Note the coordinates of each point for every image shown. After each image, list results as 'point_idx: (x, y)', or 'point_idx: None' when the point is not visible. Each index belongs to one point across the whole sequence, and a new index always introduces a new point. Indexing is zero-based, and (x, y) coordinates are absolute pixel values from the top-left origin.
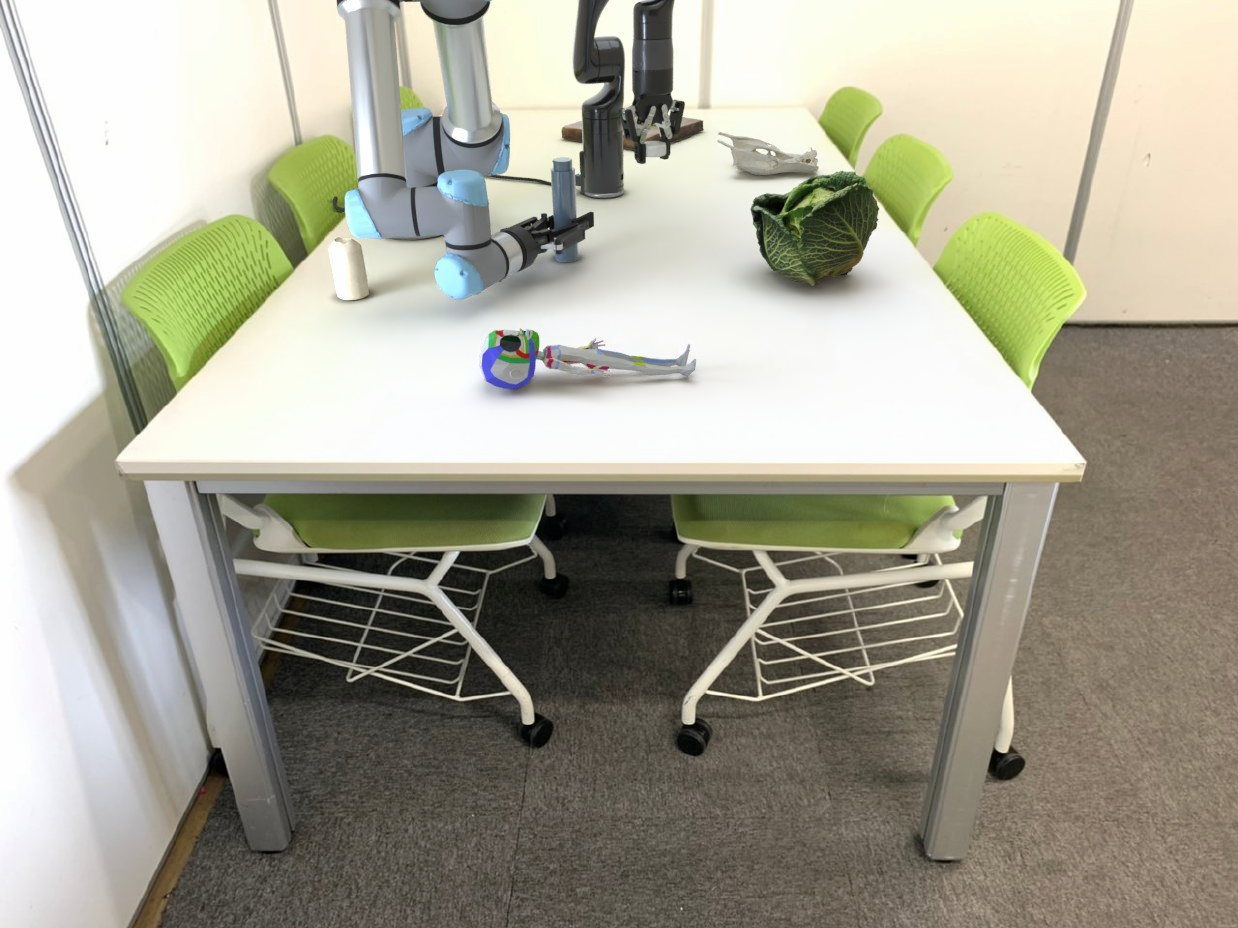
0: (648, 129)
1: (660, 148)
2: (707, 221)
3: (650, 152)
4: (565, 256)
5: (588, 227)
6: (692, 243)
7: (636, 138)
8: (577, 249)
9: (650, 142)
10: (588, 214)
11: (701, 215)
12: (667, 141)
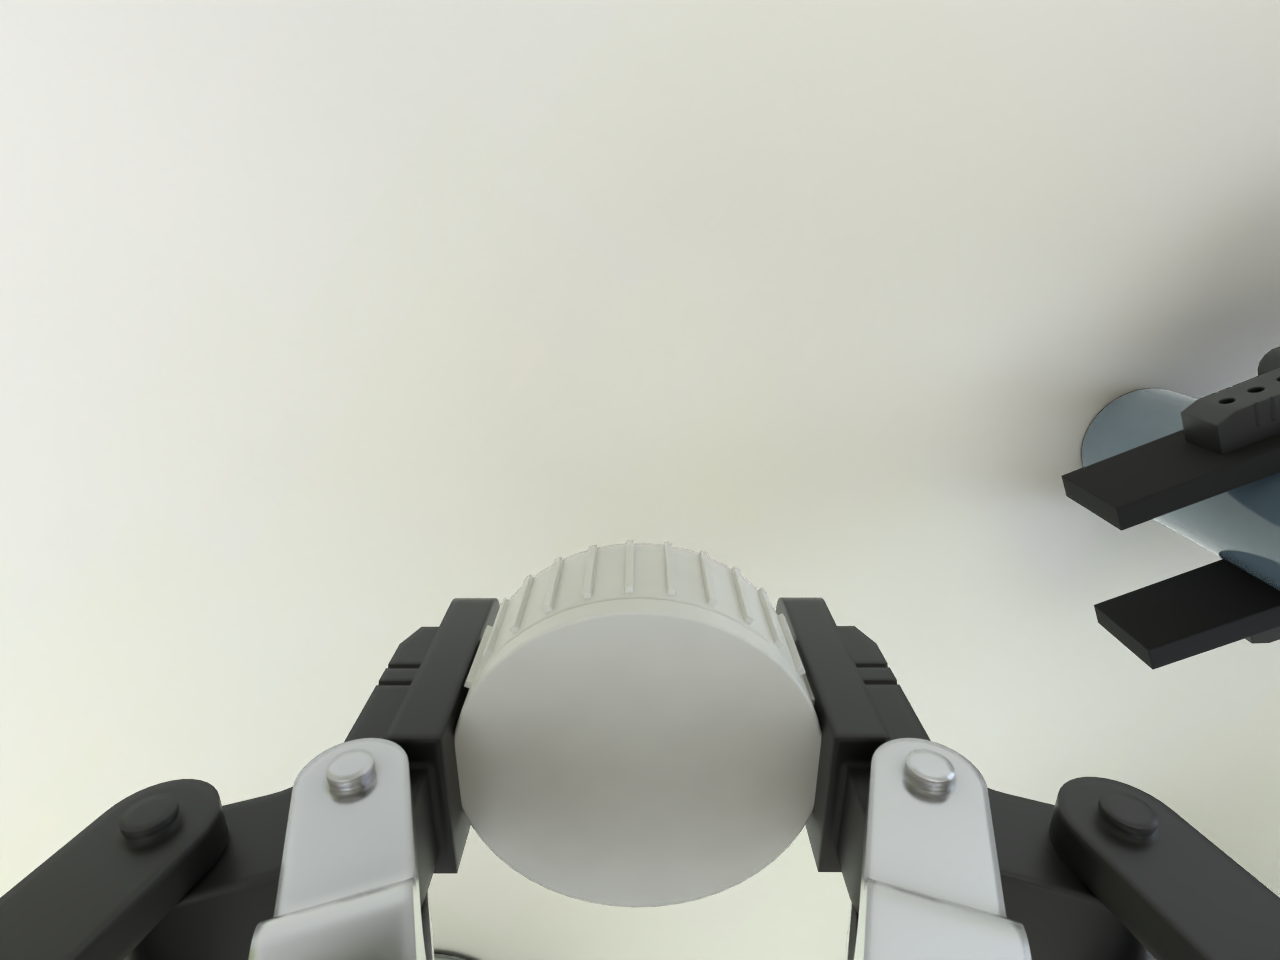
0: (903, 911)
1: (640, 596)
2: (221, 483)
3: (774, 618)
4: None
5: (1188, 412)
6: (492, 240)
7: (1084, 821)
8: (1146, 414)
9: (614, 843)
10: (1180, 486)
11: (201, 573)
12: (418, 725)
